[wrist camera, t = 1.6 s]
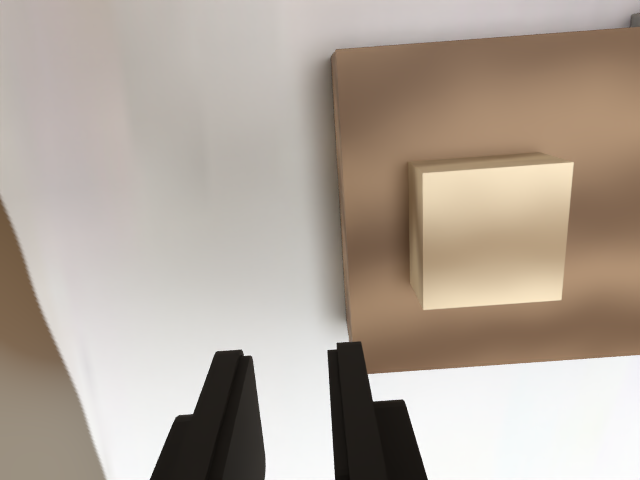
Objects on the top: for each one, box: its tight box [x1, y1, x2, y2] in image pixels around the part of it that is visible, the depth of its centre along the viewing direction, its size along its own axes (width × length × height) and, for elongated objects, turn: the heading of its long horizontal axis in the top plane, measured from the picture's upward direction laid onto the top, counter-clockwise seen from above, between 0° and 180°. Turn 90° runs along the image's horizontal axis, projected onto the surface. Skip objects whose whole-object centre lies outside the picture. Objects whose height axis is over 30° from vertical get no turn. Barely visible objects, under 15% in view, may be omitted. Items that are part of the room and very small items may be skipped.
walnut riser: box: [331, 27, 640, 374], centre depth 26 cm, size 16×16×6 cm
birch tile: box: [408, 152, 574, 310], centre depth 22 cm, size 6×6×3 cm
